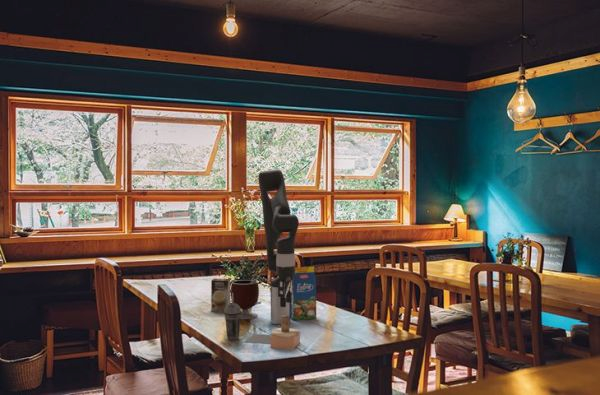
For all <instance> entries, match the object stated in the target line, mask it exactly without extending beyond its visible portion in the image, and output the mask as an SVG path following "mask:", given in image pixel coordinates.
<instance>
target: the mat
mask: <svg viewBox="0 0 600 395" xmlns="http://www.w3.org/2000/svg"><path fill="white" fill-rule="evenodd" d="M271 335H272V334H262V333H260V334H259V333H254V334H252V335H251V336H249V338H248V337H247V339H245V340H244V341H243V343H245V344H247V343H248V344H259V345H261V344H263V345H265V344H266V345H270V336H271Z"/></svg>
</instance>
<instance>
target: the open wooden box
mask: <svg viewBox="0 0 600 395" xmlns="http://www.w3.org/2000/svg"><path fill="white" fill-rule="evenodd" d="M270 335H271V336H270V344H269V345H270V346H269V347H270V349H271V348H272V349H273V348H274V349H285V350H286V349H288V350H295V349H296V348H297V347H298V346H299V344H301V331H299V335H298V336H295V337H288V338H282V337H275V336H273V335H272V334H270Z"/></svg>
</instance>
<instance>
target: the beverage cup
mask: <svg viewBox="0 0 600 395" xmlns="http://www.w3.org/2000/svg"><path fill="white" fill-rule="evenodd" d="M241 313H242V309H241V308H240V306H239V305H238V304H236V303H233V293H232V300H231V302H230V304H228V305H227V306H226V308H225V311H223V314H224V318H225V328H226V338H227V340H228V341H237V340H239V336H240V328H241V327H240V326H241V319H240V318H241Z"/></svg>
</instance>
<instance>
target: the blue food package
mask: <svg viewBox="0 0 600 395" xmlns="http://www.w3.org/2000/svg"><path fill="white" fill-rule="evenodd" d="M293 289H294V290H293V291H292V302H291V303H290V320H291V321H302V320H305V321H306V320H312V319H317V278H316V274H315V266H302V267H301V266H300V267H295V276H294V277H293Z"/></svg>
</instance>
